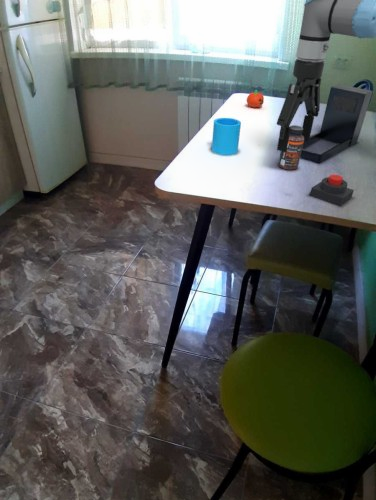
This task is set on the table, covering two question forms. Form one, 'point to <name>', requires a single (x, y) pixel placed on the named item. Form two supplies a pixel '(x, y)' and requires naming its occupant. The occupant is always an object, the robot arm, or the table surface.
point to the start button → (335, 180)
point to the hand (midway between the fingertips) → (293, 145)
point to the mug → (226, 136)
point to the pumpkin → (255, 99)
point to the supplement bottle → (292, 149)
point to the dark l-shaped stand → (340, 121)
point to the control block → (332, 192)
